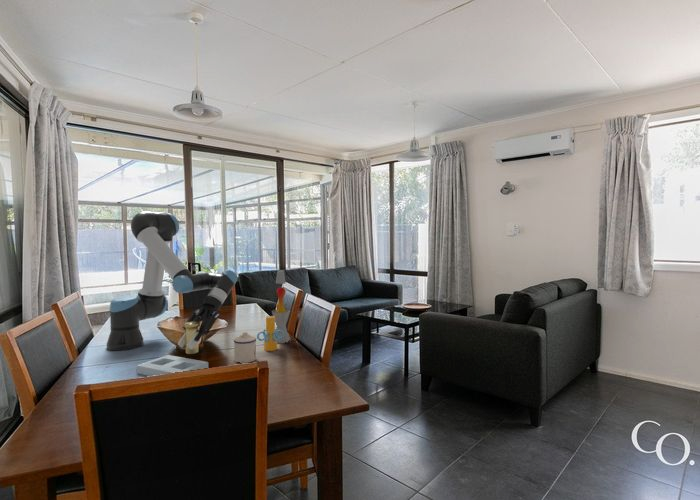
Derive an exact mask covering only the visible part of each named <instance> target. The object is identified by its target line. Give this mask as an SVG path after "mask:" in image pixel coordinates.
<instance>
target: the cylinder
mask: <svg viewBox="0 0 700 500" xmlns="http://www.w3.org/2000/svg"><path fill="white" fill-rule="evenodd" d="M277 332H282V336H281V337H279V336H278V333H277ZM260 334H262V336H263V338H260ZM276 335H277V336H276ZM283 336H284V332H283V331H282V330H277V331H276V323H275V316H273V315H268V316H266V317H265V329H263V331H259V332H257V335H256V340H259V342H263V350H264V351H266V352H274V351H276V350H277V349H278V343H277V341H278V339H281V338H283ZM276 338H277V339H276Z"/></svg>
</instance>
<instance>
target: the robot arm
mask: <svg viewBox="0 0 700 500" xmlns="http://www.w3.org/2000/svg"><path fill="white" fill-rule="evenodd" d="M130 230H131V233H132V235H133V236H134V237H135V239H136V240H137V241H138V242H139V243H142V244H143V245H144V247H146V249H147V253H146V261H145V268H144V272H143V273H144V275H143V281H142V288H140V289H139V290H138V291H137V293H138V294H127V295H121V296H117V297H115V298H113V299H112V300H111V301H110V304H109V314H110V315H109V317H110V319H109V320H110V333H109V335H108V339H107V341H106V350H108V351H126V350H133V349H136V348H139V347H141V346H144V343H145V341H144V337H143V334H142V332H141V329H140V321H145V320H148V319H153V318H157V317H160V316H162V315H163V314H164V313H165V312H166V311H167V309H168V304H169V302H168V299H167V296H166V295H165V291H163V289H162V287H163V281H164V280H163V279H164V274H165V271H166V274H168V276H169V277H170V278H171V279H172V285H171V286H172V289H173V290H174V292H175V293H178V294H188V293H191V292H196V291H197V292H198V291H201V290H202V291H203V290H208V289H209V290H210V291H209V292H208V294H207V296H205V298H204V300H203V301H202V306H201V307H200V308H199V309H196V308H194V309H193V310H192V313H191V314H190V316H189V318H188V319H187V321H186V322H185V323H187V322H200V326H199V327H198V330H197V331H198V332H196V333H195V334H194V336H193V337H192V339H191V340H190V342H189V344H188V345H187V346H188V347H189V348H190V349H193V347H194V346H195V344H196V343H197V342H198V343H199V341H200V339H201V337H202V336H203V335H208V334H209V332H210V331H211V329H212V327H213V326H214V324H215V323H216V321H217V320H218V319H219V318H220V316H221V315H220V314H219V313H218V312H219V311H220V309H221V307H222V306H223V304H224V302H225V301H226V299H227V297H228V296H229V294H230V293H231V292H232V290H233V288H234V287H235V285H236V283H237V281H238V278H239V277H238V274H237V273H236V272H234V271H233V270H231V269H224V270H223V271H222V272H221V273H215V272H208V271H198V272H197V273H194V274H193V273H192V272H191V271H190V270H189V269H188V268H187V267H186V265H185V264H184V263H183V262H182V261H181V259H180V258H179V257H178V256H177V254H176V253H175V252H174V250H172V248H171V247H170V246H169V244H170V243H171V242H172V241H173V237H175V236H176V235H177V234H178V233H179V231H180V223H179V220H178V219H177V217H176V216H175V215H174V214H172V213H169V212H165V211H161V212H160V211H148V210H143V211H139V212H138V213H137V214H135V215H133V217H132V219H131V222H130ZM182 329H184V332H183V333H182V335H181V337H180V339H179V340H178V342H177V345H178V346H179V348H184V347H185V346H186V327H184V326H183V327H182Z"/></svg>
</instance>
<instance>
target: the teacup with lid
mask: <svg viewBox="0 0 700 500" xmlns="http://www.w3.org/2000/svg"><path fill="white" fill-rule="evenodd" d="M256 341H257V337H256V336H255V335H254V336H253V335H251V334H248V332H247V331H244V332H242V334H240V335H239V336H237V337H236V336H235V338H234V339H233V342H234V345H233V346H234V361H235V362H236V363H237V362H240V363H239V364H247V363H252V362H254V361H256V359H257V352H256V351H257V348H256V346H257V345H256V343H257V342H256Z"/></svg>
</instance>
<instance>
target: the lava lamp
mask: <svg viewBox="0 0 700 500" xmlns="http://www.w3.org/2000/svg"><path fill="white" fill-rule="evenodd" d="M275 278H276V280H275V284H278V285H279V284H280V285H282V284H286V283H287V282H286V281H287V280H286V277H285V272H284V270H279V269H278V270H277V272H276V277H275ZM276 294H277V298H278V302H277V303H276V304H275V307H276V309H273V310H271V314H272V316H275V329H276V331H277V330H282V331H283V332H284V336H283V338H281V339H278V341H277V344H286V343H289V342H290V341H291V338H290V336H289V333H288V330H287V327H286V325H287V322H288V319H289V316H290V313H291V310H290V309H287V308H286V309H285V307H284V306H285V305H284V297H285V294H286V289H285V288H284V287H282V286H281V287H278V288H277V289H276ZM277 333H278V336H279V337H281V336H282V332H277ZM276 336H277V335H276ZM276 339H277V338H276ZM289 340H290V341H289ZM288 341H289V342H288ZM285 342H286V343H285Z"/></svg>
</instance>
